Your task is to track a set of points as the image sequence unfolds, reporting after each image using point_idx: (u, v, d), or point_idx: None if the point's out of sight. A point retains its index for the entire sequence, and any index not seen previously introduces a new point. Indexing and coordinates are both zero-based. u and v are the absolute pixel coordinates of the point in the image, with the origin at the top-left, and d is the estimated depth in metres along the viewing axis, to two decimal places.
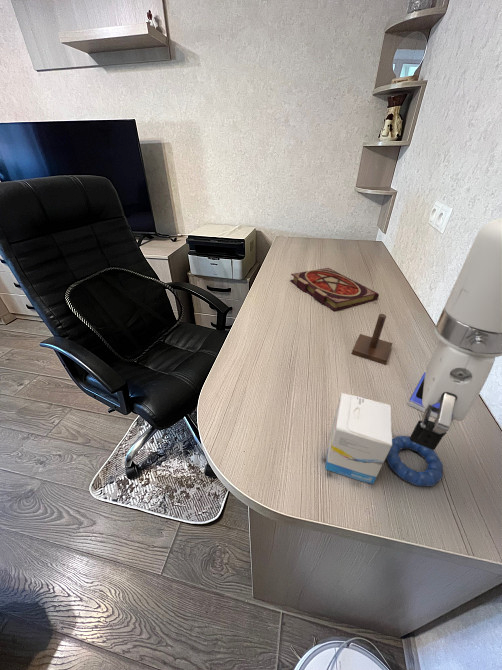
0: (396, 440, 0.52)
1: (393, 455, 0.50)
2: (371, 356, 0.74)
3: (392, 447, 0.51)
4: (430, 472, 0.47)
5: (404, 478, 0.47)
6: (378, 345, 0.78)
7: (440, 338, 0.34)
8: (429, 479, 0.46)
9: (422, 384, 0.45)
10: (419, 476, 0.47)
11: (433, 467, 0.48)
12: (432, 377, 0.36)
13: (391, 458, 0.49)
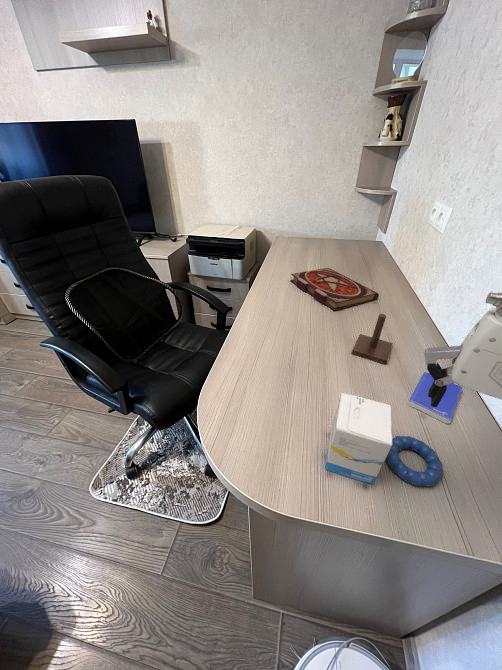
0: (396, 440, 0.52)
1: (393, 455, 0.50)
2: (371, 356, 0.74)
3: (392, 447, 0.51)
4: (430, 472, 0.47)
5: (404, 478, 0.47)
6: (378, 345, 0.78)
7: None
8: (429, 479, 0.46)
9: None
10: (419, 476, 0.47)
11: (433, 467, 0.48)
12: None
13: (391, 458, 0.49)
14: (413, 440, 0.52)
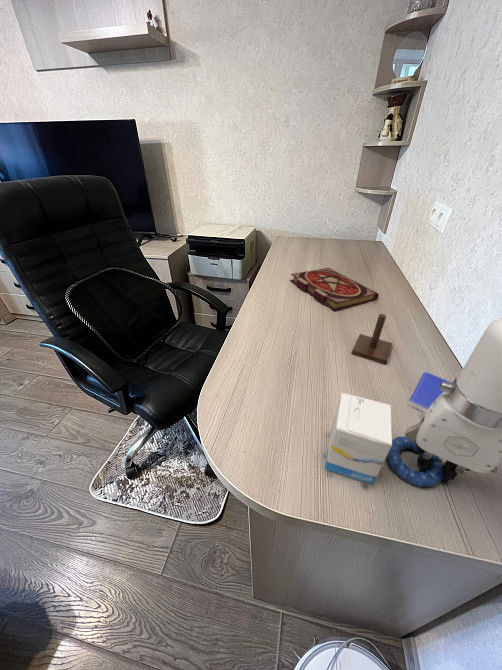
0: (397, 440, 0.52)
1: (394, 455, 0.50)
2: (371, 356, 0.74)
3: (393, 447, 0.51)
4: (431, 473, 0.47)
5: (405, 478, 0.47)
6: (378, 345, 0.78)
7: None
8: (430, 480, 0.46)
9: None
10: (420, 477, 0.46)
11: (434, 467, 0.48)
12: None
13: (392, 458, 0.49)
14: None
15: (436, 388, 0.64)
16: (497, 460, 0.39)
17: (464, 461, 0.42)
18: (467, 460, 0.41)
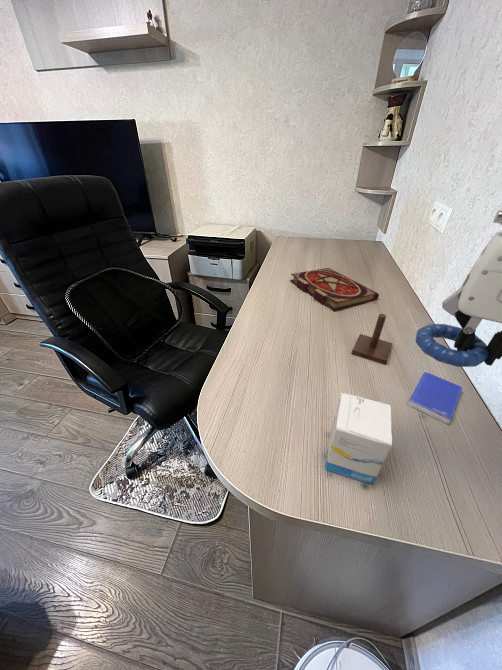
0: (428, 326, 0.44)
1: (427, 338, 0.41)
2: (371, 356, 0.74)
3: (425, 331, 0.43)
4: (474, 350, 0.39)
5: (443, 358, 0.39)
6: (378, 345, 0.78)
7: None
8: (474, 356, 0.38)
9: (493, 337, 0.40)
10: (462, 353, 0.38)
11: (477, 347, 0.40)
12: None
13: (425, 341, 0.41)
14: (448, 326, 0.44)
15: (436, 388, 0.64)
16: None
17: None
18: None
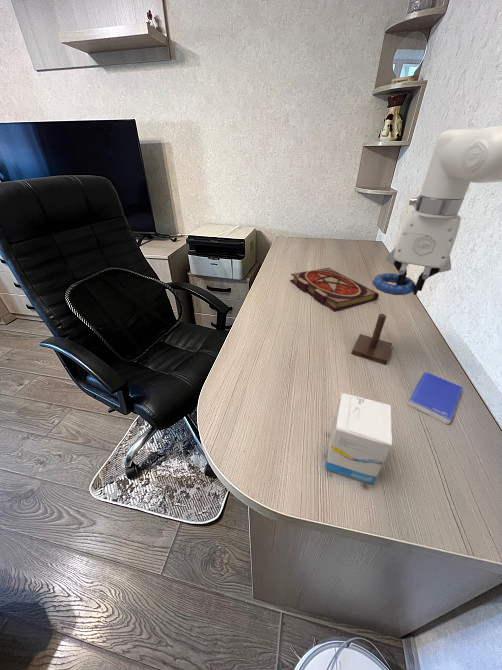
0: (381, 274, 0.68)
1: (378, 279, 0.66)
2: (371, 356, 0.74)
3: (378, 276, 0.67)
4: (405, 285, 0.63)
5: (386, 290, 0.63)
6: (378, 345, 0.78)
7: None
8: (404, 287, 0.62)
9: None
10: (397, 286, 0.63)
11: (408, 283, 0.64)
12: None
13: (377, 281, 0.65)
14: (394, 274, 0.68)
15: (436, 388, 0.64)
16: (449, 250, 0.55)
17: (427, 259, 0.58)
18: (429, 257, 0.57)
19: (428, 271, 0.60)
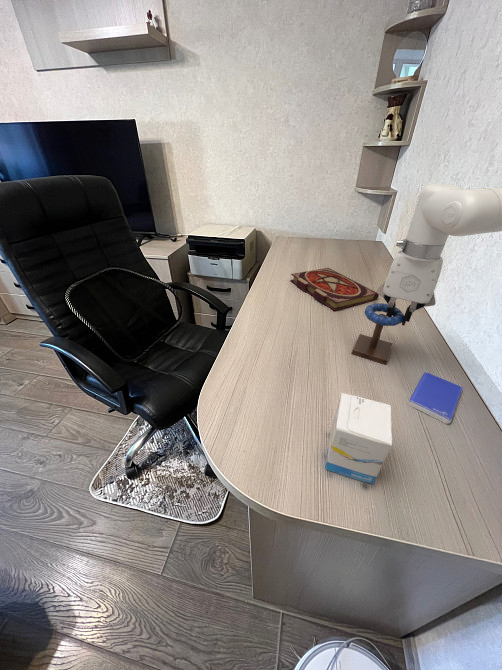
0: (372, 304, 0.73)
1: (369, 310, 0.71)
2: (371, 356, 0.74)
3: (369, 307, 0.72)
4: (394, 316, 0.68)
5: (376, 321, 0.68)
6: (378, 345, 0.78)
7: None
8: (393, 319, 0.67)
9: (407, 309, 0.69)
10: (386, 318, 0.68)
11: (397, 315, 0.69)
12: None
13: (368, 312, 0.71)
14: (385, 304, 0.73)
15: (436, 388, 0.64)
16: (432, 288, 0.60)
17: (413, 295, 0.63)
18: (415, 294, 0.62)
19: (415, 305, 0.65)
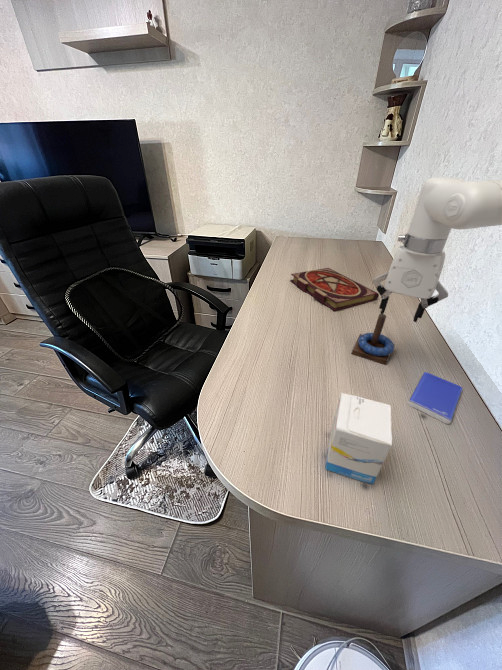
0: (365, 334, 0.78)
1: (363, 340, 0.76)
2: (371, 356, 0.74)
3: (362, 337, 0.77)
4: (385, 347, 0.73)
5: (369, 351, 0.73)
6: (378, 345, 0.78)
7: None
8: (384, 350, 0.72)
9: (418, 305, 0.67)
10: (378, 349, 0.73)
11: (388, 345, 0.74)
12: None
13: (361, 342, 0.76)
14: None
15: (436, 388, 0.64)
16: (435, 283, 0.60)
17: (415, 291, 0.62)
18: (416, 289, 0.62)
19: (425, 300, 0.63)
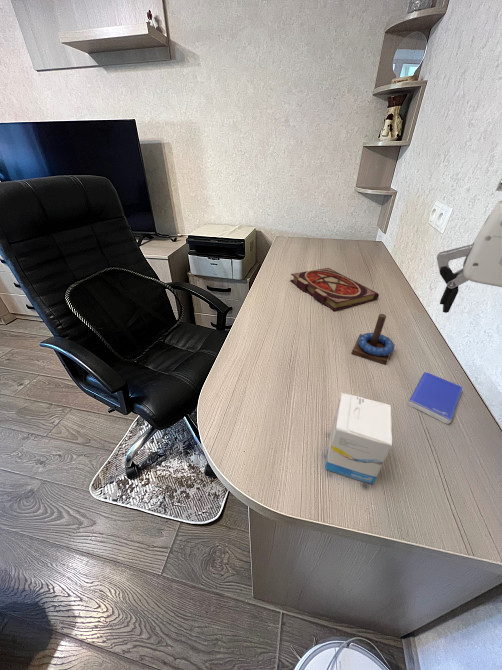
0: (365, 334, 0.78)
1: (363, 340, 0.76)
2: (371, 356, 0.74)
3: (362, 337, 0.77)
4: (385, 347, 0.73)
5: (369, 351, 0.73)
6: (378, 345, 0.78)
7: None
8: (384, 350, 0.72)
9: None
10: (378, 349, 0.73)
11: (388, 345, 0.74)
12: None
13: (361, 342, 0.76)
14: None
15: (436, 388, 0.64)
16: None
17: None
18: None
19: None
